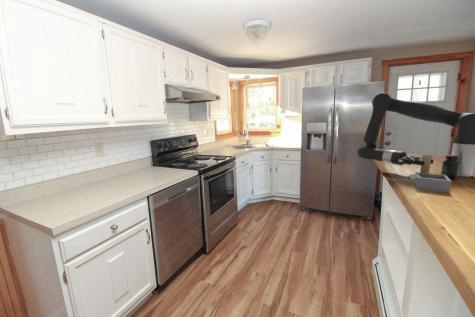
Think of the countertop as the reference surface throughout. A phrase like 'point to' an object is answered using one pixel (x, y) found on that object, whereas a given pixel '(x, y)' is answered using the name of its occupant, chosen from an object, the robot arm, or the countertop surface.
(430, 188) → the storage box
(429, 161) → the peg on green base
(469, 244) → the countertop surface
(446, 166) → the supplement bottle
